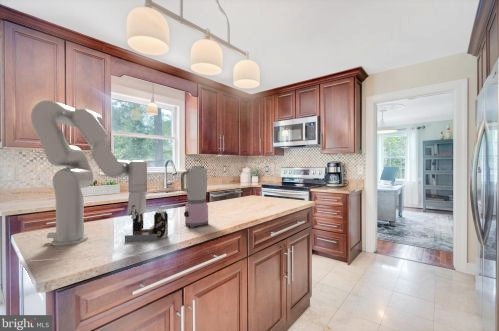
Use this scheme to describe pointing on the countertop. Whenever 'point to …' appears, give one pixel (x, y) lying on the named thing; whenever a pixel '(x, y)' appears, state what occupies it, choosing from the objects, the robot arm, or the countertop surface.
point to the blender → (195, 196)
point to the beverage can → (161, 224)
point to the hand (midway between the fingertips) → (138, 229)
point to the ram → (151, 230)
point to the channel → (141, 237)
